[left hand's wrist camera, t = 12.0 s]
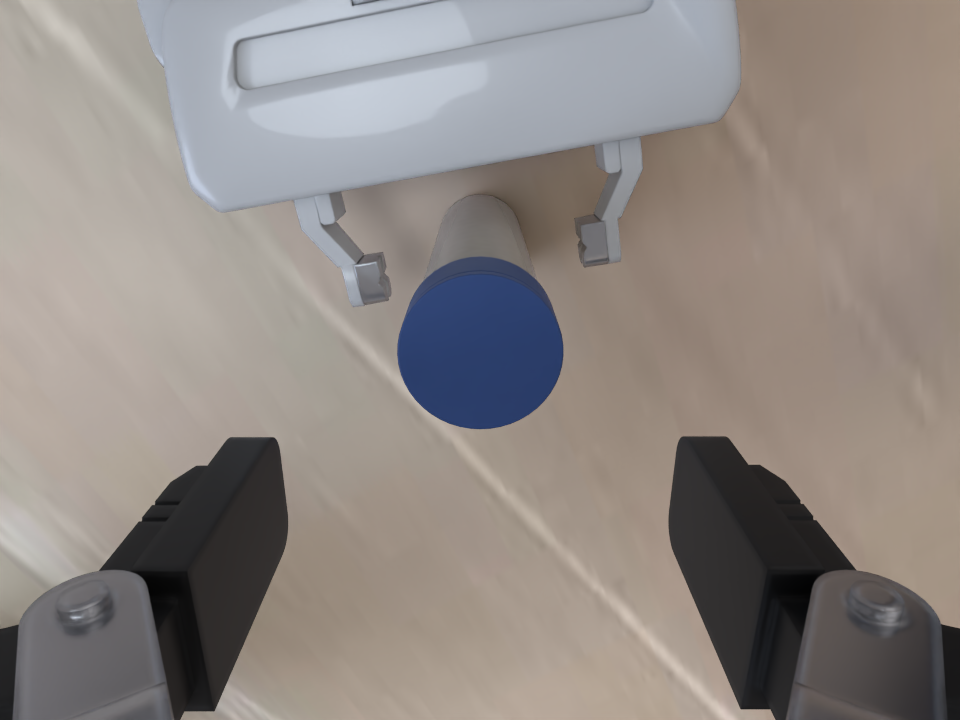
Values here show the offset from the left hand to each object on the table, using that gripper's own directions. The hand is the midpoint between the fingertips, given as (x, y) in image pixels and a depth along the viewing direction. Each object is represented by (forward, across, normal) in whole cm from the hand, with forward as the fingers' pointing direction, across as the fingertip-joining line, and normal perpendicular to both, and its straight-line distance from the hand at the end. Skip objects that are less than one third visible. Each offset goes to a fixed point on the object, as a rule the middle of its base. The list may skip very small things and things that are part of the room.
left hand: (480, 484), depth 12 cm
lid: (+7, 0, 0) cm, 7 cm away
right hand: (+17, 0, -1) cm, 17 cm away
